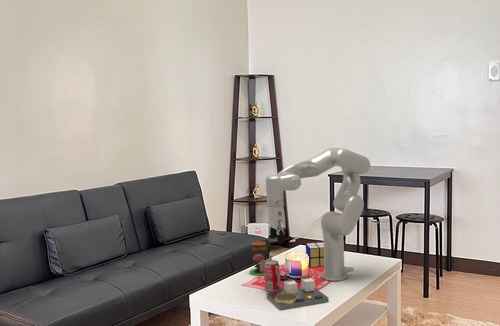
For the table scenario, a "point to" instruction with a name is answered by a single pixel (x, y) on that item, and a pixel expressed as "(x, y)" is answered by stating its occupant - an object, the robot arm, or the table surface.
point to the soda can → (272, 276)
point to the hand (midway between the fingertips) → (277, 240)
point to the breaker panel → (302, 300)
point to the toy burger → (259, 258)
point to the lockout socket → (286, 295)
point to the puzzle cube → (315, 254)
